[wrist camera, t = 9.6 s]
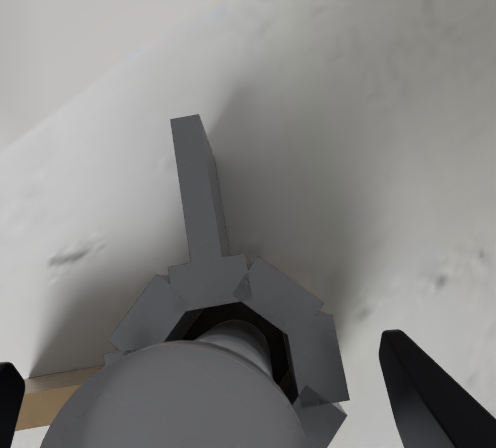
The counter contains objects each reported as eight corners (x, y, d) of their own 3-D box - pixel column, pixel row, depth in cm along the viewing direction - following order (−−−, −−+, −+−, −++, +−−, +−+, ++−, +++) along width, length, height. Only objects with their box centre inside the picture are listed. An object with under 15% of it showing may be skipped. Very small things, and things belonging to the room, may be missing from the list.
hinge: (393, 276, 19) (437, 271, 14) (212, 558, 17) (192, 663, 12) (201, 148, 21) (182, 103, 16) (16, 393, 19) (-70, 427, 14)
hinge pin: (296, 345, 19) (373, 462, 6) (245, 423, 18) (201, 746, 5) (224, 293, 19) (146, 291, 6) (172, 367, 19) (-30, 531, 6)
